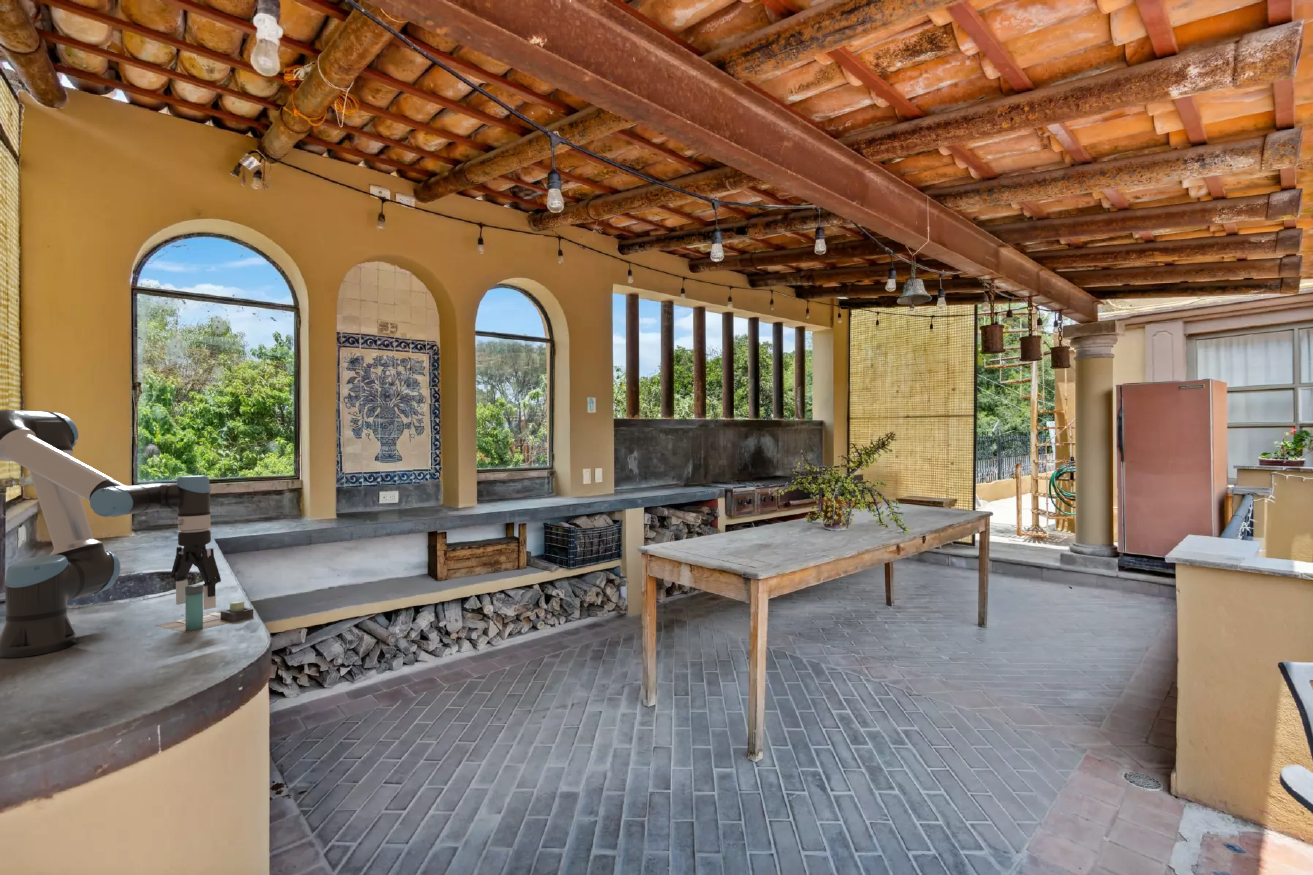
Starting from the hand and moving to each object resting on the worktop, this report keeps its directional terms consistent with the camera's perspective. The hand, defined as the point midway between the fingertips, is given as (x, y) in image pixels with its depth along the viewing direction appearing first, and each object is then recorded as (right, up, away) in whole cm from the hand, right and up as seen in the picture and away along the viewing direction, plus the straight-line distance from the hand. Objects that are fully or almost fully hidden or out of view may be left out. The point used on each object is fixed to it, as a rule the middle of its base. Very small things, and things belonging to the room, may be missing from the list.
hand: (195, 606), depth 183 cm
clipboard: (-3, -8, +8) cm, 11 cm away
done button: (+5, -5, +11) cm, 13 cm away
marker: (0, -6, 0) cm, 6 cm away
